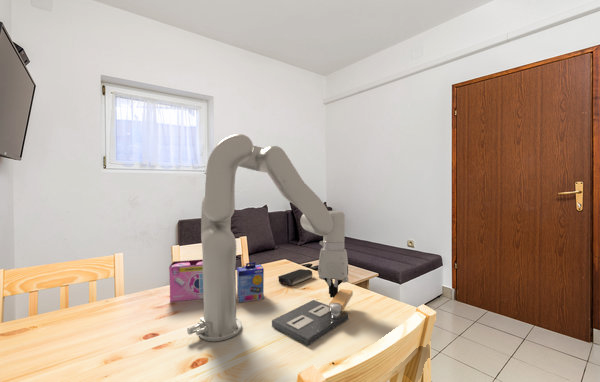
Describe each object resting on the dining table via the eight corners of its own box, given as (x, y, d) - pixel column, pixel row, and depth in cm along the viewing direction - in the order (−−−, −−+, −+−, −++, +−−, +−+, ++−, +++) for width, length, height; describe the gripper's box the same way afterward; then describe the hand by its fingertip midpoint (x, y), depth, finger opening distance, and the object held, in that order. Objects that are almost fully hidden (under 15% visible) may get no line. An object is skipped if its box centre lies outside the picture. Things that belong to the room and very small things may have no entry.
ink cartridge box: (238, 303, 102) (238, 265, 101) (236, 297, 107) (236, 261, 106) (264, 299, 105) (264, 262, 105) (261, 293, 110) (260, 258, 110)
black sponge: (290, 288, 116) (290, 279, 116) (276, 283, 122) (276, 275, 122) (314, 278, 128) (314, 270, 128) (301, 274, 134) (301, 267, 134)
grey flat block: (307, 346, 75) (307, 331, 75) (271, 326, 85) (271, 313, 85) (348, 319, 89) (348, 307, 89) (313, 305, 99) (313, 294, 99)
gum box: (234, 288, 116) (233, 256, 116) (234, 295, 109) (233, 262, 108) (173, 294, 111) (173, 261, 110) (169, 302, 103) (168, 266, 103)
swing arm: (327, 311, 86) (327, 306, 86) (340, 293, 100) (340, 288, 100) (340, 313, 84) (340, 308, 84) (352, 295, 98) (352, 290, 98)
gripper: (310, 245, 97) (310, 296, 97) (352, 250, 91) (351, 304, 91) (317, 241, 104) (317, 289, 104) (356, 245, 98) (356, 295, 98)
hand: (333, 296), depth 98 cm, fingers closed
